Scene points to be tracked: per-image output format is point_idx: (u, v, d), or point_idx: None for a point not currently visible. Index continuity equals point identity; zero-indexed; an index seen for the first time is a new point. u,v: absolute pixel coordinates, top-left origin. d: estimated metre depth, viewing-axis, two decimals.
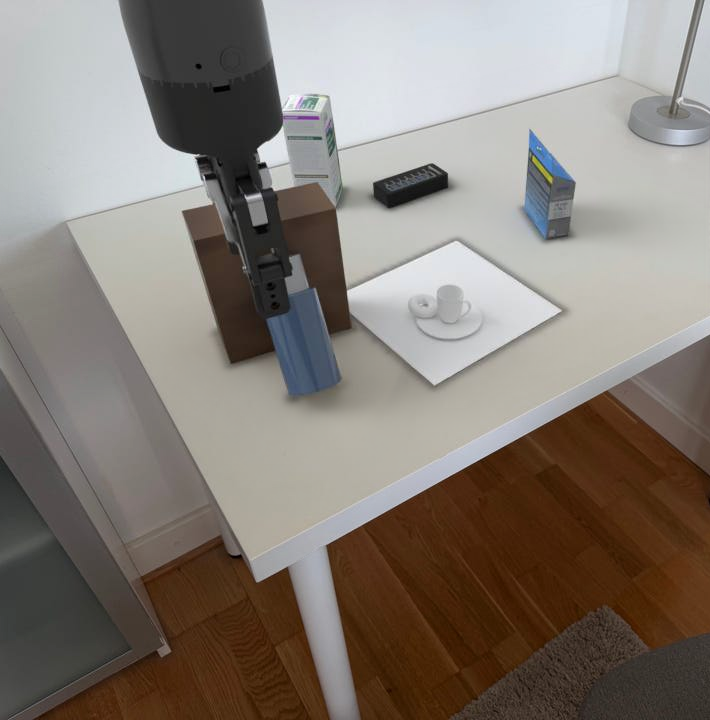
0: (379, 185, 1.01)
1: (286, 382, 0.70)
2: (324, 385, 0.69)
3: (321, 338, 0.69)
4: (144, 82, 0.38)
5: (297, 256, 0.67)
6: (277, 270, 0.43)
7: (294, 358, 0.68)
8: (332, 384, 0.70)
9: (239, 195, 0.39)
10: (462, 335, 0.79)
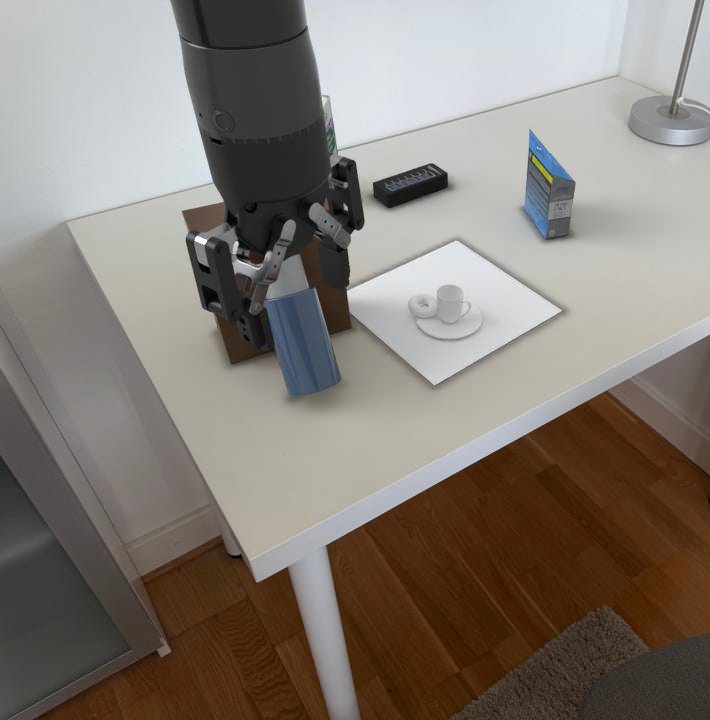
0: (379, 185, 1.01)
1: (286, 382, 0.70)
2: (324, 385, 0.69)
3: (321, 338, 0.69)
4: None
5: (297, 256, 0.67)
6: (219, 309, 0.45)
7: (294, 358, 0.68)
8: (332, 384, 0.70)
9: (196, 232, 0.42)
10: (462, 335, 0.79)
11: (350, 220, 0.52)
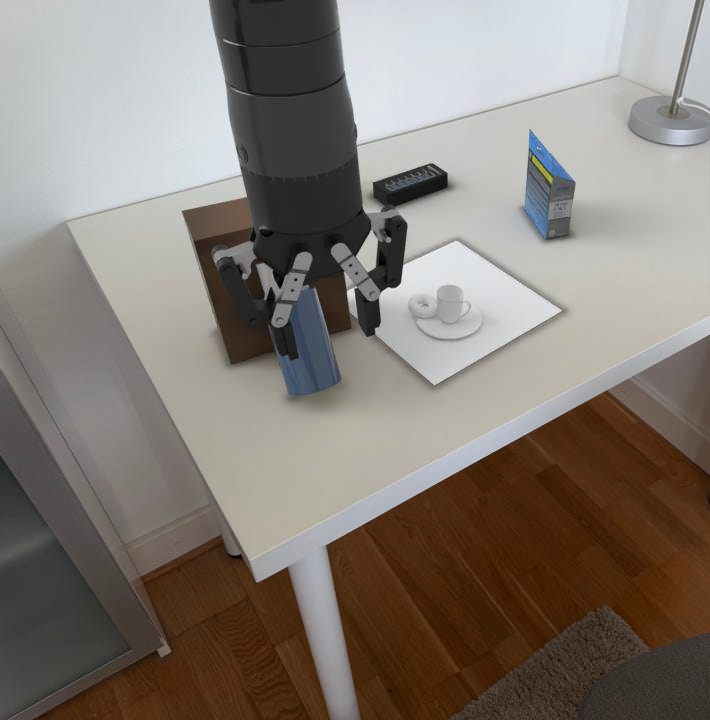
0: (379, 185, 1.01)
1: (286, 382, 0.70)
2: (324, 385, 0.69)
3: (321, 338, 0.69)
4: None
5: None
6: None
7: None
8: (332, 384, 0.70)
9: (218, 249, 0.47)
10: (462, 335, 0.79)
11: (385, 275, 0.53)
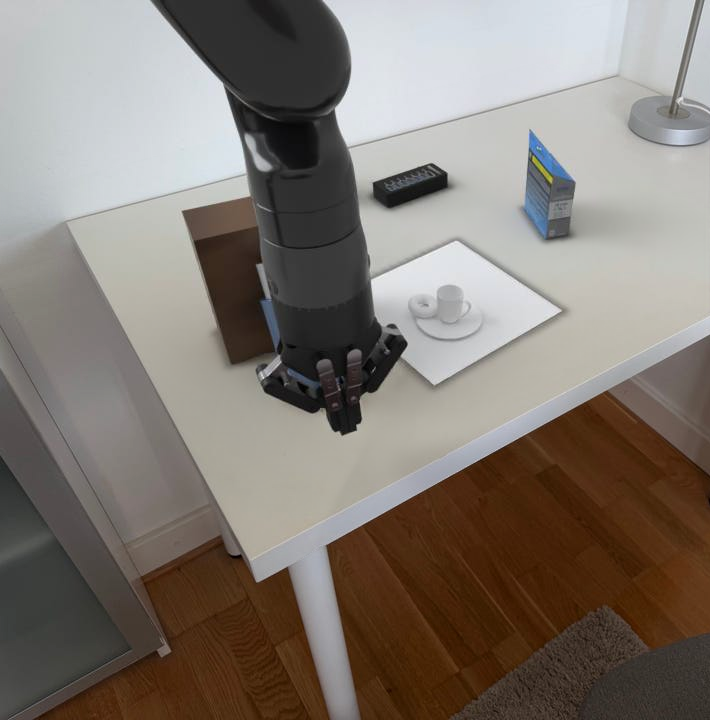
0: (378, 185, 1.01)
1: None
2: None
3: None
4: None
5: None
6: None
7: None
8: None
9: (258, 370, 0.55)
10: (462, 335, 0.79)
11: (368, 379, 0.59)
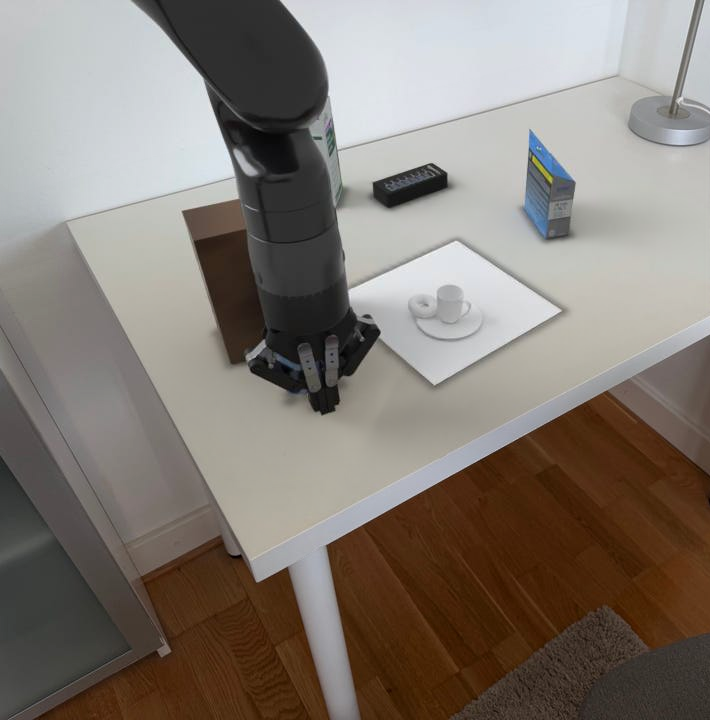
0: (378, 184, 1.01)
1: None
2: None
3: None
4: None
5: None
6: None
7: None
8: None
9: (246, 353, 0.62)
10: (462, 335, 0.79)
11: (345, 364, 0.66)
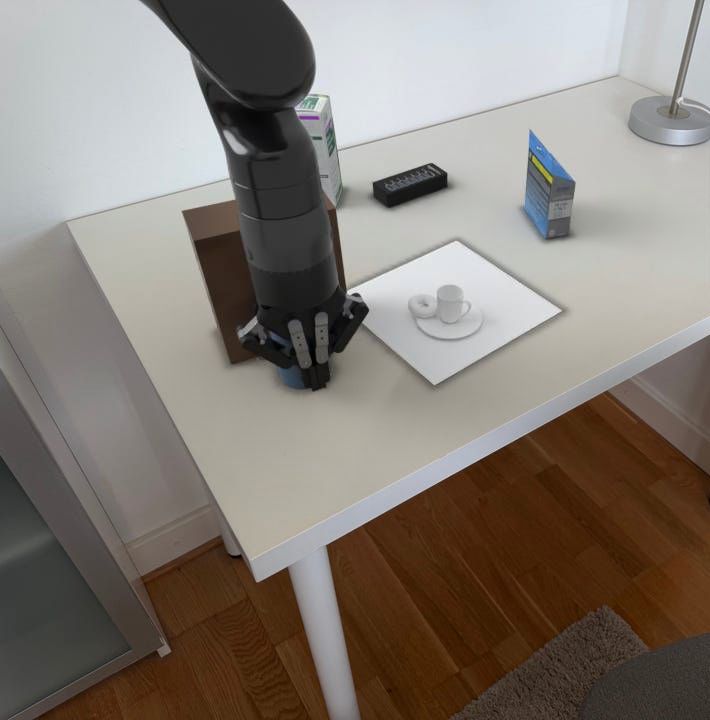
0: (378, 185, 1.01)
1: (279, 372, 0.73)
2: None
3: None
4: None
5: None
6: None
7: None
8: None
9: (238, 329, 0.64)
10: (462, 335, 0.79)
11: (335, 341, 0.68)
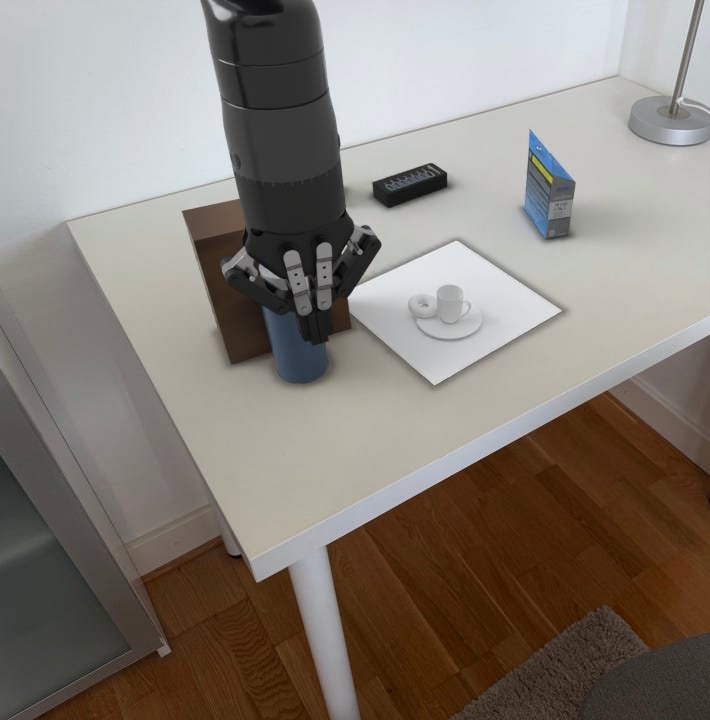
0: (378, 184, 1.01)
1: (277, 367, 0.73)
2: (315, 376, 0.74)
3: None
4: None
5: None
6: None
7: (291, 357, 0.71)
8: (322, 373, 0.74)
9: (223, 263, 0.52)
10: (462, 335, 0.79)
11: (340, 283, 0.57)
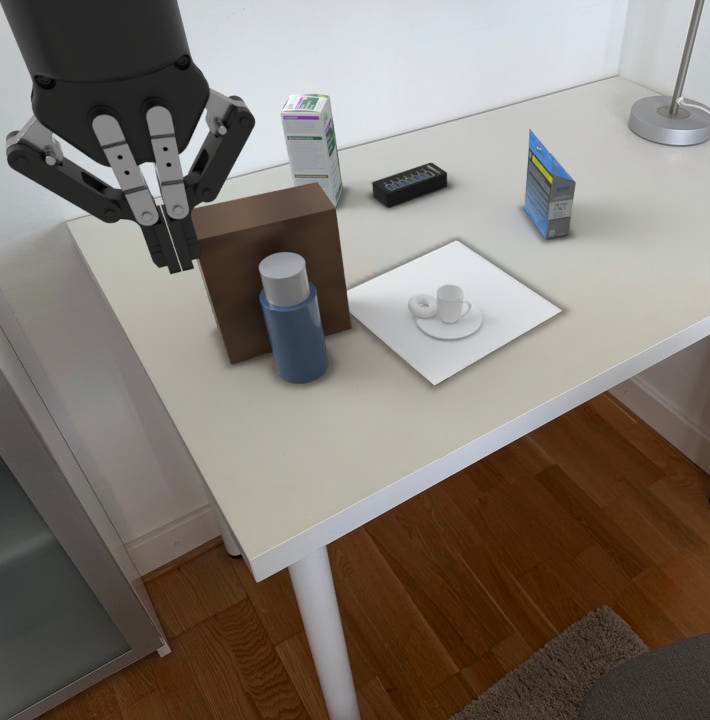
0: (378, 184, 1.01)
1: (277, 367, 0.73)
2: (315, 376, 0.74)
3: (318, 339, 0.71)
4: None
5: (304, 268, 0.66)
6: None
7: (291, 357, 0.71)
8: (322, 373, 0.74)
9: (8, 138, 0.35)
10: (462, 335, 0.79)
11: (199, 179, 0.40)
